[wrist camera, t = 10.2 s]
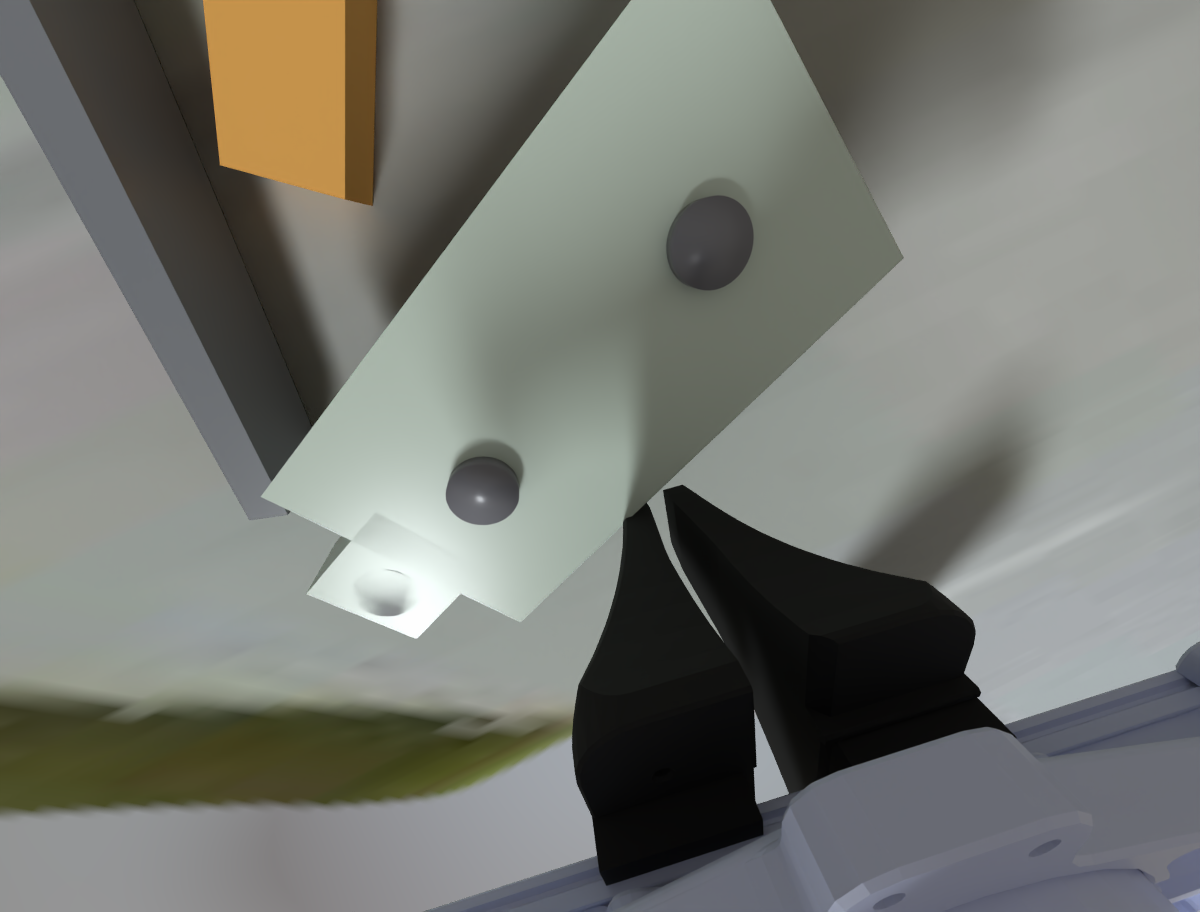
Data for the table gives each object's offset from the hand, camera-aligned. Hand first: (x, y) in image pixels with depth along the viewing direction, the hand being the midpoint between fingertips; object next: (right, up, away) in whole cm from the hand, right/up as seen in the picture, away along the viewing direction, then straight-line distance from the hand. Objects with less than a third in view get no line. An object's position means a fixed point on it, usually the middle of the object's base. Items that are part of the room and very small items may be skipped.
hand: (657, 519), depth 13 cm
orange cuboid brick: (-9, +11, -2) cm, 15 cm away
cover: (-4, +5, +1) cm, 7 cm away
